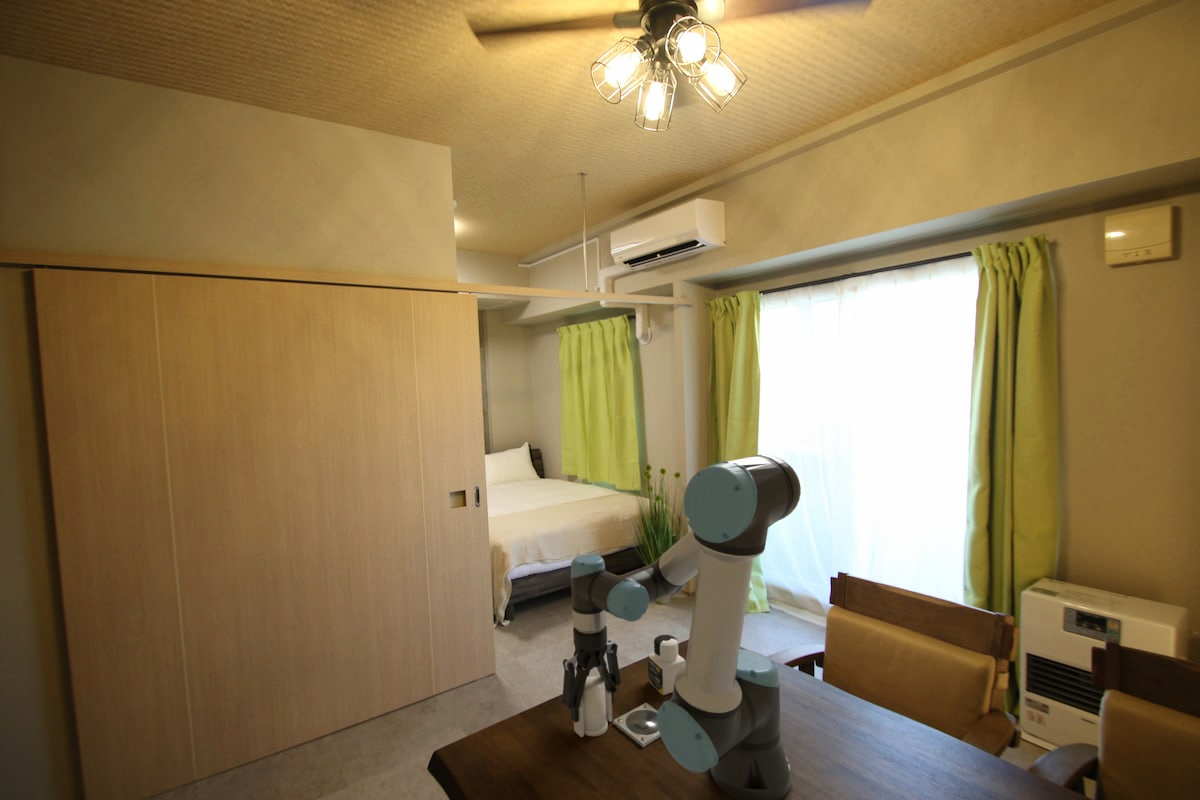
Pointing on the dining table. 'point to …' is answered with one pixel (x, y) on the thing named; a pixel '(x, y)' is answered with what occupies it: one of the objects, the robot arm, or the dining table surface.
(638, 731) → the flange plate
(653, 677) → the medicine bottle
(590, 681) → the elbow
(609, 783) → the dining table surface
